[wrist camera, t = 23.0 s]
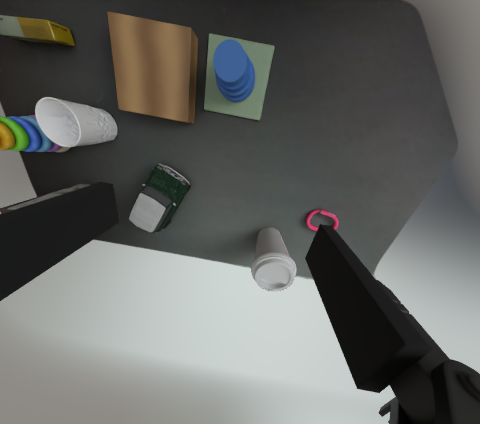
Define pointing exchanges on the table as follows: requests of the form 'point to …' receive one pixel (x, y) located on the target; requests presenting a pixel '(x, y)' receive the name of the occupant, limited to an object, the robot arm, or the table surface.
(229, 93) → the stacked blue discs
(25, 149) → the stacking toy
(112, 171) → the table surface
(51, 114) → the white cup
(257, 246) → the coffee cup
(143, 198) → the miniature car
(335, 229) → the fitness band
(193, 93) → the platform
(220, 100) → the coaster
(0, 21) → the medication box
